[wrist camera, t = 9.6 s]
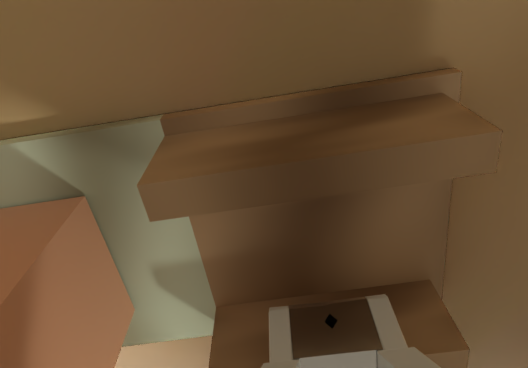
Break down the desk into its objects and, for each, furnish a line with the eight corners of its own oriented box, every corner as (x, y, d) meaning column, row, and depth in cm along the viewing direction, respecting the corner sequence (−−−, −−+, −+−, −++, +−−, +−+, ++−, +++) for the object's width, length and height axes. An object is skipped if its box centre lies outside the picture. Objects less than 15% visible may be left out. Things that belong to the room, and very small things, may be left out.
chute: (453, 67, 11) (531, 104, 8) (435, 297, 15) (481, 378, 12) (-43, 146, 12) (-147, 207, 9) (72, 343, 16) (29, 430, 13)
